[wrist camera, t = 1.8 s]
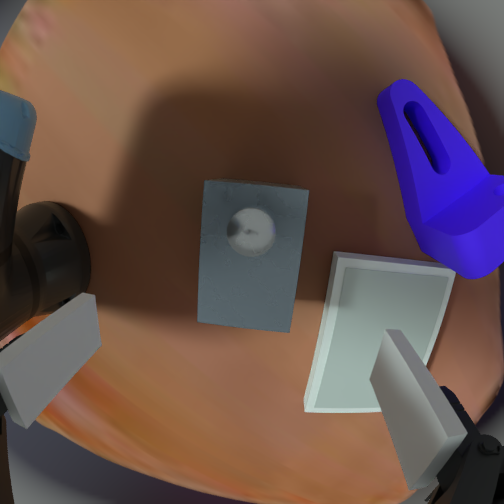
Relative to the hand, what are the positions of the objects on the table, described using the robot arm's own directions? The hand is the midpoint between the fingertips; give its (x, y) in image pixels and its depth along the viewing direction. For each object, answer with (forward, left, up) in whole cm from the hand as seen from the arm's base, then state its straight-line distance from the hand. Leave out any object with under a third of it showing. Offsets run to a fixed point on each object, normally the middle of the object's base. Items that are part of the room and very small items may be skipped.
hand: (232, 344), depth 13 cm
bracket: (+18, +11, -21) cm, 30 cm away
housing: (0, 0, -21) cm, 21 cm away
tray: (+16, -11, -21) cm, 29 cm away
